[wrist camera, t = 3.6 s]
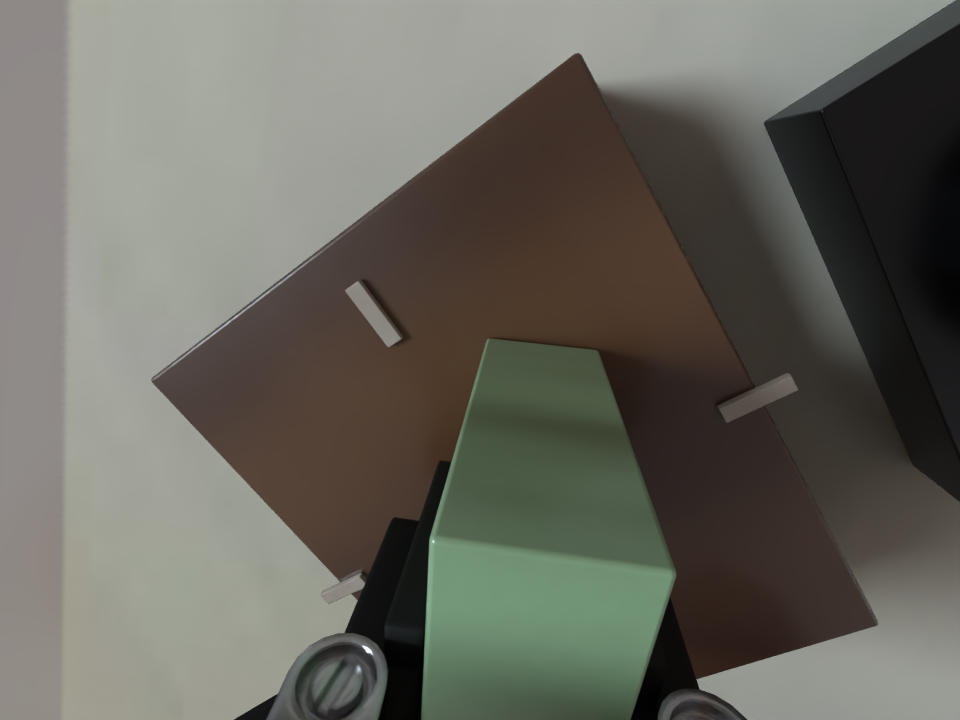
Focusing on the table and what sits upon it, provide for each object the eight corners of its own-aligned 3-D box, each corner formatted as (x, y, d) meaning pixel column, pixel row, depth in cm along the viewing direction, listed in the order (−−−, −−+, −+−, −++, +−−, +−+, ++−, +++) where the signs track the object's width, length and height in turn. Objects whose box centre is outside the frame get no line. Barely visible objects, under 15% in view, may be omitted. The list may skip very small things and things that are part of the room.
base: (214, 347, 13) (126, 395, 11) (592, 63, 10) (615, 20, 7) (483, 653, 17) (472, 752, 14) (832, 526, 13) (913, 623, 11)
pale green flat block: (486, 336, 9) (421, 559, 4) (598, 349, 9) (690, 597, 4) (461, 622, 12) (405, 964, 7) (545, 636, 12) (553, 996, 7)
